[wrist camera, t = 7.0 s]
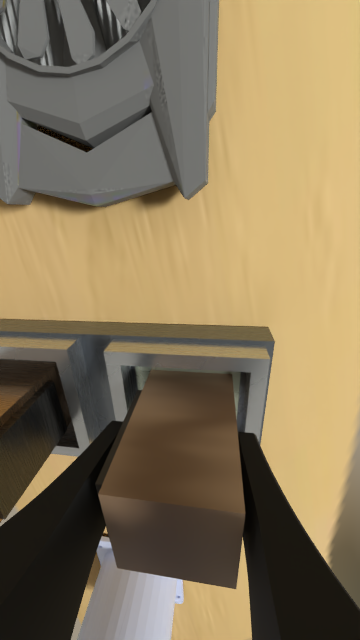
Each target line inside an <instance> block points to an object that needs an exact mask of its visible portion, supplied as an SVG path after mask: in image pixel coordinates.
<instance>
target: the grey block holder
mask: <svg viewBox="0 0 360 640" xmlns="http://www.w3.org/2000/svg"><path fill="white" fill-rule="evenodd" d="M274 343H275V341H274V339H273V337H272V334H271V332H270V330H269V328H268V327H245V326H211V325H178V324H145V323H112V322H78V321H45V320H12V319H0V522H1V521H2V519H6V517H7V516H8V514H9V513H10V511H11V510H12V508H13V507H14V506H15V504H16V503H17V501H18V500H19V499H20V497H21V496H22V494H23V493H24V491H25V490H26V488H27V487H28V486H29V484H30V483H31V481H32V480H33V478H34V477H35V475H36V474H37V473H38V471H39V470H40V468H41V467H42V465H43V464H44V462H45V461H46V460H47V458H48V457H49V455H50V454H60V455H69V456H78V457H79V456H80V455H81V454H82V452H83V451H84V450H85V449H86V448H87V447H88V446H89V445H90V444H91V443H92V442H93V441H94V440H95V439H96V437H97V436H98V435H99V434H100V433H101V432H102V431H103V430H104V429H105V427H106V426H107V425H108V424H109V423H110V422H111V421H124V419H125V417H126V414H127V412H128V410H129V408H130V405H131V403H132V401H133V399H134V397H135V394H136V392H137V390H142V389H143V387H144V385H145V382H146V380H147V378H148V375H149V373H150V371H151V370H167V371H185V372H203V373H221V374H232V378H233V388H234V399H235V409H236V420H237V431H238V434H239V432H248V433H254V434H255V435H256V436H257V439H258V442H259V444H260V443H261V436H262V428H263V421H264V414H265V407H266V400H267V393H268V386H269V378H270V371H271V364H272V357H273V350H274Z"/></svg>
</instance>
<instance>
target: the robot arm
mask: <svg viewBox="0 0 360 640" xmlns="http://www.w3.org/2000/svg"><path fill="white" fill-rule="evenodd" d="M122 423H123V421H111V422H110V423H109V424H108V425H107V426H106V427H105V429H104V430H103V431H102V432H101V433H100V434H99V435H98V436H97V437H96V439H95V440H94V441H93V442H92V443H91V444H90V445H89V446H88V447H87V448H86V449H85V450H84V451H83V452H82V454H81V455H80V456H79V457H78V458H77V459H76V460H75V461H74V462H73V463H72V464H71V465H70V466H69V467H68V468H67V469H66V470H65V471H64V472H63V473H62V474H61V475H60V476H59V477H57V478H56V479H55V480H54V481H53V482H52V483H51V484H50V485H49V486H48V487H47V488H46V489H45V490H44V491H42V492H41V493H40V494H39V495H38V496H37V497H36V498H35V499H33V500H32V501H31V502H30V503H29V504H27V505H26V506H25V507H24V508H23V509H22V510H20V511H19V512H18V513H17V514H15V515H14V516H13V517H12V518H10V519H9V520H8V521H7V522H5V523H4V524H3V525H2V526H0V640H71V636H72V633H73V629H74V625H75V621H76V618H77V615H78V611H79V608H80V604H81V601H82V597H83V594H84V590H85V587H86V583H87V580H88V577H89V574H90V570H91V567H92V564H93V560H94V557H95V554H96V551H97V555H98V558H99V561H100V565H101V568H100V571H99V574H98V577H97V580H96V583H95V586H94V589H93V592H92V595H91V598H90V601H89V604H88V608H87V611H86V614H85V617H84V620H83V623H82V626H81V629H80V632H79V635H78V638H77V640H171V633H172V624H173V614H174V605H175V603H177V604H182V603H183V599H184V595H183V580H181V579H176V578H170V577H164V576H159V575H153V574H147V573H141V572H136V571H130V570H124V569H119V568H117V566H116V562H115V558H114V554H113V550H112V546H111V542H110V540H109V537H104V536H102V534H103V532H104V529H105V527H106V524H105V520H104V516H103V512H102V509H101V505H100V501H99V497H98V493H97V489H96V485H95V483H96V481H97V479H98V476H99V474H100V472H101V470H102V468H103V465H104V463H105V461H106V459H107V456H108V454H109V452H110V450H111V448H112V445H113V443H114V441H115V439H116V436H117V434H118V432H119V430H120V428H121V425H122ZM238 441H239V452H240V462H241V473H242V483H243V494H244V505H245V521H244V529H243V541H244V548H245V555H246V563H247V572H248V582H249V597H250V611H251V627H252V640H360V609H359V607H358V606H357V605H356V603H355V602H354V601H353V599H352V598H351V597H350V595H349V594H348V593H347V591H346V590H345V588H344V587H343V586H342V584H341V583H340V582H339V580H338V579H337V578H336V576H335V575H334V573H333V572H332V570H331V569H330V567H329V566H328V564H327V563H326V561H325V560H324V558H323V557H322V556H321V554H320V553H319V551H318V550H317V548H316V546H315V545H314V543H313V542H312V540H311V539H310V537H309V536H308V534H307V533H306V531H305V529H304V528H303V526H302V524H301V523H300V521H299V520H298V518H297V516H296V514H295V513H294V511H293V509H292V508H291V506H290V504H289V502H288V501H287V499H286V497H285V495H284V494H283V492H282V490H281V488H280V486H279V484H278V482H277V480H276V478H275V477H274V475H273V473H272V471H271V469H270V467H269V464H268V462H267V460H266V458H265V456H264V454H263V451H262V449H261V447H260V444H259V442H258V439H257V436H256V435H255V434H254V433H248V432H239V434H238Z"/></svg>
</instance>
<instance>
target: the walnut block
mask: <svg viewBox="0 0 360 640" xmlns="http://www.w3.org/2000/svg"><path fill="white" fill-rule="evenodd" d="M95 485H96V489H97V493H98V497H99V501H100V505H101V509H102V512H103V516H104V520H105V524H106V528H107V532H108V536H109V540H110V542H111V546H112V550H113V554H114V558H115V562H116V566H117V568H119V569H124V570H130V571H136V572H141V573H147V574H153V575H159V576H164V577H170V578H176V579H181V580H187V581H193V582H199V583H204V584H210V585H216V586H222V587H227V588H233V589H236V585H237V577H238V569H239V561H240V553H241V545H242V537H243V529H244V521H245V505H244V494H243V483H242V473H241V462H240V452H239V441H238V431H237V420H236V409H235V399H234V388H233V378H232V374H221V373H203V372H185V371H167V370H151V371H150V373H149V375H148V378H147V380H146V382H145V385H144V387H143V389H142V390H137V392H136V394H135V397H134V399H133V401H132V403H131V405H130V408H129V410H128V412H127V414H126V417H125V419H124V421H123V423H122V425H121V428H120V430H119V432H118V434H117V436H116V439H115V441H114V443H113V445H112V448H111V450H110V452H109V454H108V456H107V459H106V461H105V463H104V465H103V468H102V470H101V472H100V474H99V476H98V479H97V481H96V483H95Z"/></svg>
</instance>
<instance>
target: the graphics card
mask: <svg viewBox="0 0 360 640" xmlns="http://www.w3.org/2000/svg"><path fill="white" fill-rule="evenodd" d="M218 18H219V0H0V199H1V200H3V201H4V202H5V203H7V204H22V205H30V204H31V202H32V199H33V197H34V195H35V193H36V192H38V193H42V194H46V195H50V196H54V197H59V198H63V199H67V200H71V201H75V202H79V203H83V204H88V205H92V206H96V207H107V206H110V205H113V204H117V203H120V202H123V201H126V200H129V199H132V198H136V197H139V196H142V195H145V194H148V193H152V192H155V191H158V190H161V189H164V188H167V187H171V186H174V185H176V186H177V187H178V189H179V190H180V192H181V194H182V195H183V197H184V198H185V199H188V200H189V199H191V198H192V197H193V196H194V195H195V194H196V193H197V192H199V191H200V190H201V189H202V188H203V187H204V186H205V185H207V184H208V153H209V121H210V120H211V118H212V117H213V115H214V113H215V112H216V86H217V52H218ZM37 126H42V127H44V128H46V129H49V130H51V131H53V132H56V133H58V134H61V135H63V136H65V137H68V138H70V139H72V140H75V141H77V142H79V143H82V144H84V145H86V146H89V147H91V148H93V149H92V150H90V151H89V152H85V151H83V150H80V149H78V148H76V147H74V146H71V145H69V144H67V143H65V142H62V141H60V140H58V139H56V138H53V137H51V136H49V135H47V134H44V133H42V132H40V131H38V130H37Z"/></svg>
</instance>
